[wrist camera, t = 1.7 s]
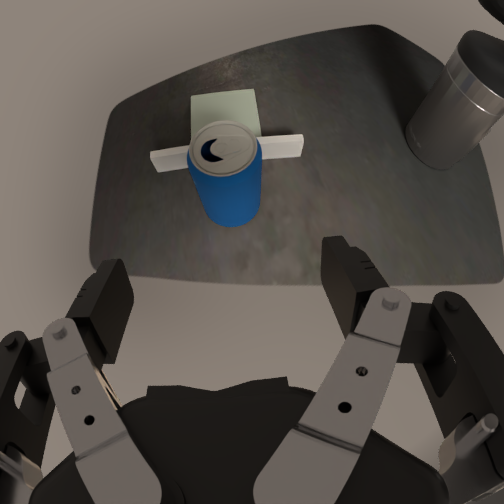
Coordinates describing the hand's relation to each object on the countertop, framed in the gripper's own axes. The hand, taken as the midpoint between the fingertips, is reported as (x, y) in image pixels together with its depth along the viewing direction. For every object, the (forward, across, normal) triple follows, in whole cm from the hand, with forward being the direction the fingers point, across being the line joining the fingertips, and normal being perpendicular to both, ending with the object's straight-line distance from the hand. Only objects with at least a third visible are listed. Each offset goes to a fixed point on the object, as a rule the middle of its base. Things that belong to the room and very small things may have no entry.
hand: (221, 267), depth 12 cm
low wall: (+28, 0, +2) cm, 28 cm away
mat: (+33, 0, -3) cm, 33 cm away
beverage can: (+24, 0, +7) cm, 25 cm away
